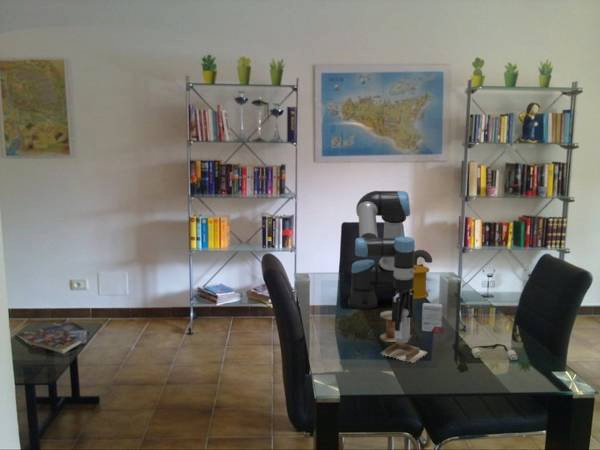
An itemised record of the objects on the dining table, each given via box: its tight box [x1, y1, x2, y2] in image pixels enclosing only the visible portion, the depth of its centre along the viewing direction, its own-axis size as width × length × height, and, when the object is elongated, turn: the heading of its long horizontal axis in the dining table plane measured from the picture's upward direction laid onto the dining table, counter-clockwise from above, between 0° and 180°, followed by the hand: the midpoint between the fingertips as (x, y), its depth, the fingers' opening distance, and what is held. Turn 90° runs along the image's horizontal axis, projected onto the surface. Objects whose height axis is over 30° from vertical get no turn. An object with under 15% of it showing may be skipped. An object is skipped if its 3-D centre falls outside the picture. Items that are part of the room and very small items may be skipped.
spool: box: [410, 264, 430, 300], centre depth 276 cm, size 18×18×15 cm
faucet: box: [414, 249, 433, 266], centre depth 302 cm, size 18×16×20 cm
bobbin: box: [379, 310, 397, 343], centre depth 210 cm, size 9×9×11 cm
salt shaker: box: [396, 308, 411, 344], centre depth 192 cm, size 6×6×13 cm
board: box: [380, 342, 428, 364], centre depth 195 cm, size 14×12×3 cm
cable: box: [471, 343, 518, 361], centre depth 197 cm, size 16×16×4 cm
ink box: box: [421, 302, 443, 333], centre depth 221 cm, size 9×5×12 cm, turn 71°
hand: (402, 335), depth 192 cm, fingers closed on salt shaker, 6 cm apart
